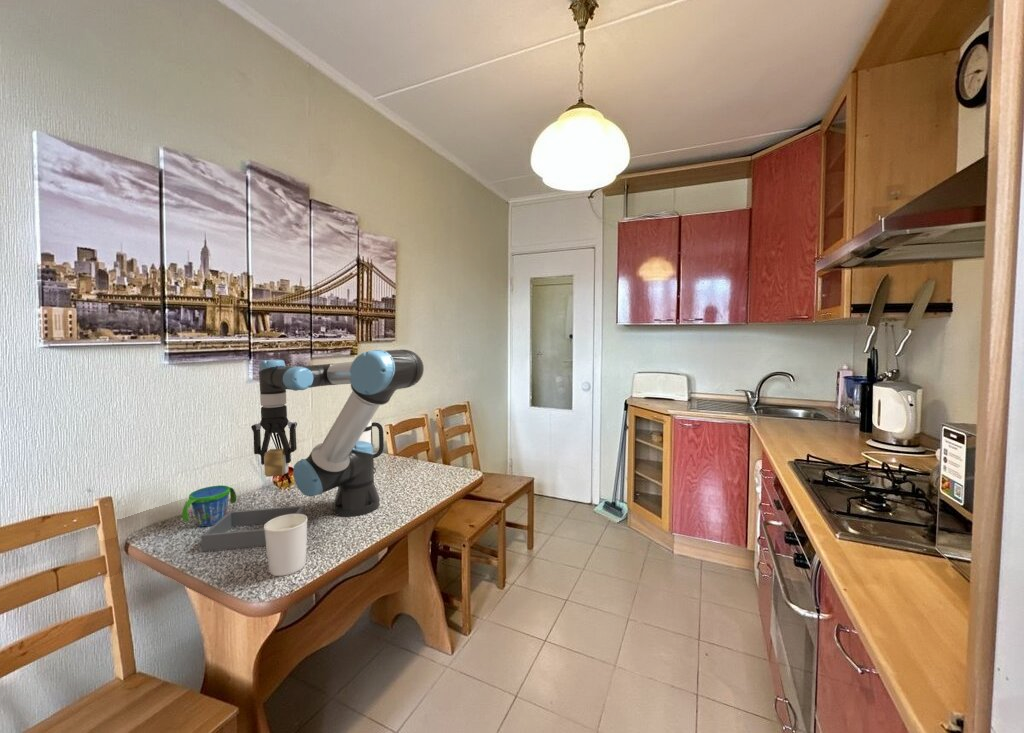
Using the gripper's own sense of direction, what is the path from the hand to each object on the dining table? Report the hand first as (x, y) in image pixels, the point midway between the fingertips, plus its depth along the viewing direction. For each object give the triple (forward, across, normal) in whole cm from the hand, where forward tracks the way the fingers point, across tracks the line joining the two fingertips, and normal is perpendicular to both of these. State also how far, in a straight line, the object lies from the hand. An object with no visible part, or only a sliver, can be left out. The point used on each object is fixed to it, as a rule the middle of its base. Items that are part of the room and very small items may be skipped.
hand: (276, 472), depth 136 cm
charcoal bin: (+13, 0, +17) cm, 22 cm away
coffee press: (+13, -21, -36) cm, 44 cm away
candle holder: (+13, -15, +38) cm, 43 cm away
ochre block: (0, 0, 0) cm, 0 cm away
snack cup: (+13, +18, +5) cm, 23 cm away
